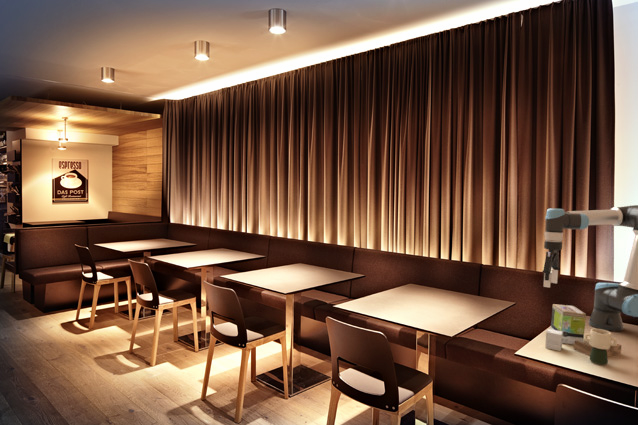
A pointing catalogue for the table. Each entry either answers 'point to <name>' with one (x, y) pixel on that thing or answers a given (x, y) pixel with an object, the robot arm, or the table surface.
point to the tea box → (568, 322)
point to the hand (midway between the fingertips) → (550, 285)
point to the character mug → (599, 345)
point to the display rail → (587, 348)
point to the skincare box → (554, 339)
